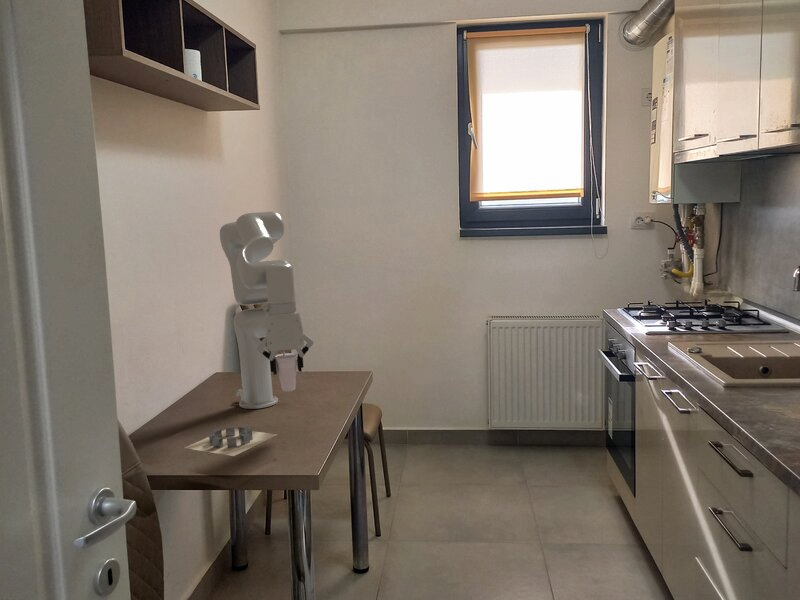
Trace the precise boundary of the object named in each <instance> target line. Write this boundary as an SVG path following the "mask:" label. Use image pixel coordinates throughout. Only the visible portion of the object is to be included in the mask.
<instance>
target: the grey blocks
mask: <svg viewBox="0 0 800 600" xmlns="http://www.w3.org/2000/svg"><path fill="white" fill-rule="evenodd" d="M234 429H235V426H234V425H231V426H225V428H224V430H226V437H229V436H235V431H234ZM237 429H239V436H240V441H241V445H245V444H247V443H249V442H250V440H253V437H252V431H253V430H252V428H249V426H245V425H239V426H238V428H237ZM222 431H223V430H222V429H220V428H218V429H214V430H213V431H211V433H209V434H208V437H209V439H210V446H211V445H213V447H214V448H222V447H223V440H222ZM227 446H228V448H233V447H237V443H236V437H230V438H227Z"/></svg>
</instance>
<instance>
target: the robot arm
mask: <svg viewBox="0 0 800 600" xmlns="http://www.w3.org/2000/svg"><path fill="white" fill-rule="evenodd" d="M284 233H285V222H284V220H283V218H282V216H281V215H280V214H279V213H278V212H276V211H263V212H262V211H261V212H260V211H259V212H247V213H244V214H242V215H240V216H239V217H237V219H236V221H233V222H229V223H226V224H223V225H222V226H221V227H220V229H219V241H220V244H221V247H222V250H223V252H224V254H225V257H226V259H227V261H228V263H229V267H230V274H231V283H232V290H233V294H234V295H233V296H234V300H235V301H236V303H237V304H238V305H241V306H253V305H261V304H266V305H262V307H256V308H249V309H242V310H240V311H239V312H237V313H236V314H234V316H233V320H232V321H233V322H232V324H233V328H234V329H233V330H234V332H235V337H236V340H237V347H238V354H239V357H238V358H239V365H240V375H241V377H240V378H241V387H242V389H241V388H239V389H237V392H235V396H236V397H238V398H239V397H240V398H241V399H240V401H239V402H238V403H239V404H238V405H239V407H240V408H242V409H249V410H255V409H256V410H257V409H264V408H268V407H272V406H274V405H276V404H277V403H278V402H279V398H278V397H277V396H276V395H273V393H274V392H273V385H272V384H273V383H272V374H271V372H272V373H273V375H274V376H275V375H278V374H277V373H278V371H277V364H276V361H275V356H276V354H277V353H276V352H283V351H284V350H285V351H292V350H293V351H294V350H296V352H297V356H298V359H297V365H296V368H297V371H298V372H302V371H303V370H302V369H303V368H304V357H305V355H306V354H307V352H308V351H309V350H310V348H311V347H312V346H313V345H314V341H313V340H312V339H311V338H309V337H308V336H307V335H306V334H304V329H303V322H302V318H301V314H300V312H299V311H297V305H296V303H297V302H296V291H295V279H294V268H293V266H292V265H291V264H290V263H289V262H288V261H287V260H285V259H275V260H264V259H266V258H268V257H269V256H270V255H271V253H272V252H273V250H274V245H275V244H276V243H277V242H279V240H281V239H282V238H283V235H284ZM263 260H264V261H263ZM261 338H263V339H262V340H260V339H261ZM305 342H306V344H305Z"/></svg>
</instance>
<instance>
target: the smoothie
mask: <svg viewBox="0 0 800 600" xmlns="http://www.w3.org/2000/svg"><path fill="white" fill-rule="evenodd" d="M285 351H286V350H284V351H282V353H279V354H275V356H274V359H275V361H276V369H277V373H278V377H279V383H280V387H281V391H283V392H292V391H294V390H296V382H297V381H296V380H297V359H298V356H297V355H298V353H292V352H290V353H289V352H287V353H286V352H285Z"/></svg>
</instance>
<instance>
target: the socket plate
mask: <svg viewBox="0 0 800 600" xmlns="http://www.w3.org/2000/svg"><path fill="white" fill-rule="evenodd" d="M221 431H222V440H223V447H222V448H214V447H213V445H211V446H210V439H209V436H208V437H205V438H203V439H201V440H199V441H196V442H194V443H191V444H189V445H188V446H185V447H184V449H186V450H190V451H191V450H192V451H198V452H206V453H210V454H212V453H213V454H216V455H217V454H218V455H223V456H229V457H236V456H237V455H239V454H241V453H243V452H246V451H247V450H249V449H252V448H254V447H256V446H258V445H259V444H262V443H265V442H266V441H268V440H270V439H272V438H274V437H277V436H278V434H277V433H276V434H275V433H270V432H263V431H261V432H260V431H256V430H255V431H254V430H252V437H253V440H250V442H249V443H247V444H245V445H241V441H240V436H239V429H238V428H234V431H235V436H229V437H226V430H225V429H224V430H221ZM230 437H236V443H237V447H233V448H228V446H227V438H230Z"/></svg>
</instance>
